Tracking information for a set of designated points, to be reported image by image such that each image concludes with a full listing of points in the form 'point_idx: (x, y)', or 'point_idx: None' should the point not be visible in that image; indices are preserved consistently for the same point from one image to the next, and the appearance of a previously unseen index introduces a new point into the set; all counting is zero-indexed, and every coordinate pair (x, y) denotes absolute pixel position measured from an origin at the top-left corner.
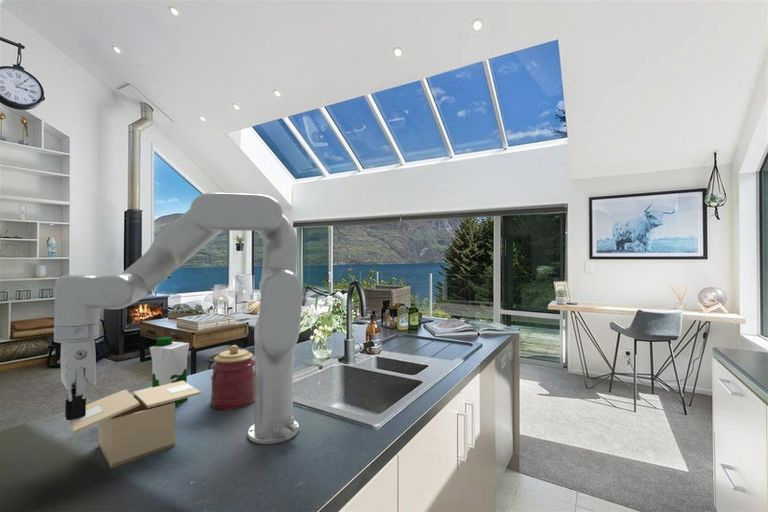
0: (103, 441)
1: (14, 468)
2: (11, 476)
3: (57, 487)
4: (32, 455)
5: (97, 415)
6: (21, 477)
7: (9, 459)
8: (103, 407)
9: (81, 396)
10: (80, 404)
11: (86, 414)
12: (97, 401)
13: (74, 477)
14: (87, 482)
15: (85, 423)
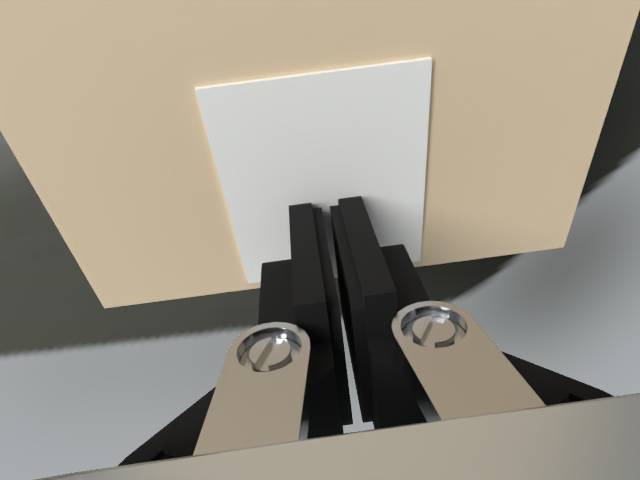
0: None
1: (169, 319)
2: (240, 318)
3: None
4: (66, 281)
5: (478, 106)
6: None
7: (64, 342)
8: (308, 44)
9: (520, 370)
10: (423, 301)
11: (334, 186)
12: (20, 94)
13: None
14: None
15: (532, 188)
